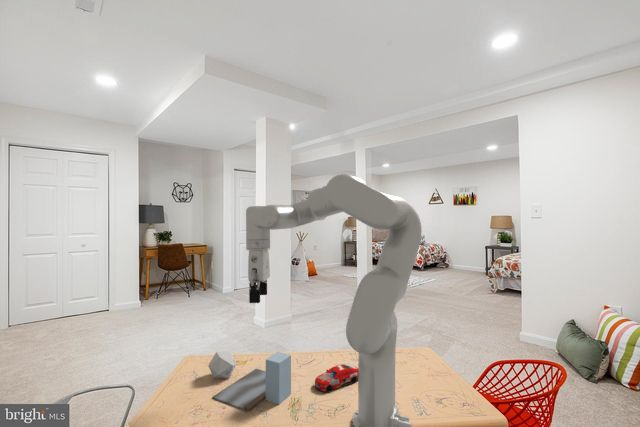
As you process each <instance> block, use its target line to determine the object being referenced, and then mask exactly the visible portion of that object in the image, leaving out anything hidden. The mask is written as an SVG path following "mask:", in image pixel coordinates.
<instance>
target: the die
mask: <svg viewBox="0 0 640 427" xmlns="http://www.w3.org/2000/svg"><path fill="white" fill-rule="evenodd" d="M207 366H208V369H209V371H210V373H211V375H212V378H213V379H230V377H231V375H232V373H233V371H234V369H235V368H236V366H237V362H236V359H235V358H234V355H233V352H232V351H216V352H215V354H214V355H213V357H212V358H211V360H210V362H209V363H208V365H207Z"/></svg>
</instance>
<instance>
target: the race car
mask: <svg viewBox="0 0 640 427" xmlns="http://www.w3.org/2000/svg"><path fill="white" fill-rule="evenodd" d="M356 382H358V367H357V366H355V365H353V364H346V363H344V364H338V365H335V366H332V367H330V368H329V369H326V370H325V372H323V373H321V374H319V375H318V376H317V377H316V378H315V380H314V387H315V389H317V390H319V391H320V392H326V393H329V392H332V391H333V390H336V389H339V388H342V387H344V386H347V385H350V384H355V383H356Z"/></svg>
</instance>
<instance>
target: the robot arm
mask: <svg viewBox="0 0 640 427" xmlns="http://www.w3.org/2000/svg"><path fill="white" fill-rule="evenodd" d="M340 213H345V214H346V215H349V216H350V217H351V218H354V219H355V220H357V221H358V222H361V223H362V224H364V225H366V226H368V227H370V228H372V229H376V230H378V231H379V230H381V231H383V230H384V231H385V230H387V237H386V239H385V240H384V243H383V246H382V248H381V253H380V256H379V259H378V261H377V264H376V266H375V268H374V269H371V271H368V272H367V273H366V274H365V275H364V276H363V277H362V279H361V280H360V282H359V284H358V286H357V289H356V292H355V295H354V298H353V300H352V301H353V302H352V304H351V308H350V312H349V315H348V317H347V322H346V324H345V336H346V339H347V342H348V344H349V346H350V347H351V348H352V349H353V350H354V351H355V352H357V353H358V364H357V365H358V367H357V368H358V380H357V382H358V384H357V385H358V386H357V387H358V388H357V390H358V392H357V393H358V398H357V399H358V404H357V405H358V407H357V410H355V412H353V415H352V419H351V420H352V422H353V423H352V426H353V425H354V426H353V427H413V423H412V422H410V416H406V415H402V414H401V413H400V412H399V406H396V353H397V352H396V349H397V336H398V318H397V315H396V313H395V308H396V305H397V304H398V303H399V302H400V301H401V300H402V299H403V298H404V296H405V295H406V292H407V288H408V285H409V280H410V278H411V274H412V271H413V267H414V264H415V261H416V258H417V254H418V251H419V248H420V244H421V240H422V232H423V230H422V222H421V219H420V216H419V213H417V211H416V209H415V208H414V207H413V206H412V205H411V204H410V203H409V202H408V201H407V200H405V199H404V198H402V197H400V196H396V195H393V194H386V193H383V192H382V191H379V190H377V189H375V188H373V187H371V186H369V185H368V184H367V183H366V181H365V180H363V179H362V178H360V177H359V176H354V175H351V174H348V173H347V174H346V173H340V174H337V175H335V176H333V177H332V178H331V179H329V180H328V182H327V184H326V185H323V186H321V187H318V188H316V189H312V190H311V191H310V192H309V193H308V195H307V199H305V200H302V201H299V202H296V203H293V204H268V205H264V206H263V205H253V206H252V205H251V206H248V207H247V208H246V210H245V241H246V243H245V247H246V251H248V258H247V259H248V262H247V266H248V267H247V274H248V275H247V277H248V282H249V283H248V284H249V287H248V292H249V293H248V295H249V296H248V297H249V298H248V300H249V301H248V302H249V303H250V304H260V302H261V296H267V295H268V283H267V282H268V279H269V278H270V275H271V272H270V270H271V269H270V254H269V253H270V252H269V250H271V230H276V231H277V230H287V229H294V228H298V227H301V226H305V225H308V224H312V223H313V222H316V221H319V220H321V219H324V218H327V217H331V216H333V215H337V214H340Z"/></svg>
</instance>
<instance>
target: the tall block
mask: <svg viewBox="0 0 640 427" xmlns="http://www.w3.org/2000/svg"><path fill="white" fill-rule="evenodd" d="M265 371H266V398H265V400H266V401H268V402H271V403H273V404H277V405H279V406H280V405H282V403H283V402H284V401H286V400H287V398H289V397H290V396H292V355H291V354H288V353H283V352H280V351H277V352H275V353H273V354H272V355H270V356H268V357H267V358H266V359H265Z"/></svg>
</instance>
